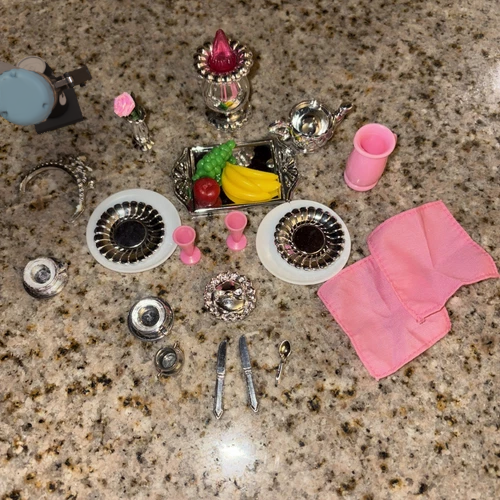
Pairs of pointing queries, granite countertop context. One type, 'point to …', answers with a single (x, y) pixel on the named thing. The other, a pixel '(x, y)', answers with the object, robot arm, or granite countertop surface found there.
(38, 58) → the beverage can
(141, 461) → the granite countertop surface
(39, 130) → the mat
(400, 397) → the granite countertop surface
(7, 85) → the robot arm
